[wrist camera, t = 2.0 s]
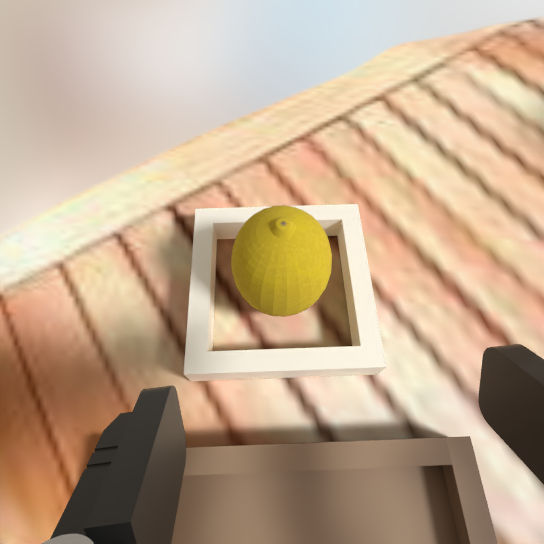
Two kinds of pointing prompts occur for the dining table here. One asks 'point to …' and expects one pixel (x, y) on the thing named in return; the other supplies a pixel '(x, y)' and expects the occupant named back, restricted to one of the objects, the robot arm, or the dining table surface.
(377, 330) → the holder frame
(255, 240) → the lemon
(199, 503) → the walnut tray
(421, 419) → the dining table surface
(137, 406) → the robot arm
